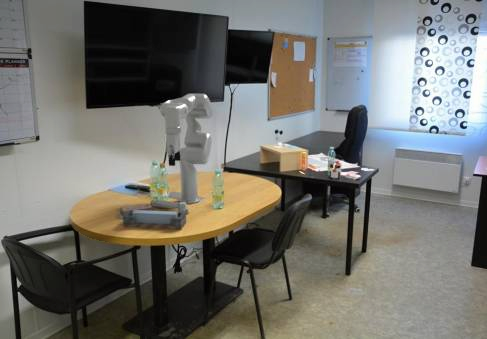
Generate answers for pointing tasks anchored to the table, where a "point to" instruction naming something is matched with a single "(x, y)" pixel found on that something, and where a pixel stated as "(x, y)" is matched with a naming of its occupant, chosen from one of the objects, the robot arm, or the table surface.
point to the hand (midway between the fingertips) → (174, 163)
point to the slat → (153, 216)
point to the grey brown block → (135, 207)
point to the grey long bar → (170, 205)
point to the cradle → (174, 223)
